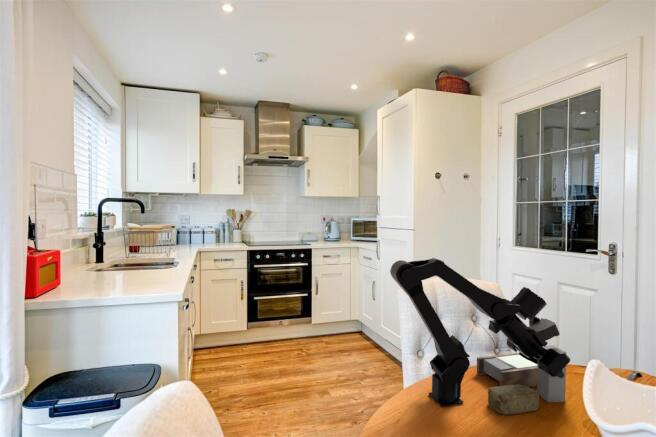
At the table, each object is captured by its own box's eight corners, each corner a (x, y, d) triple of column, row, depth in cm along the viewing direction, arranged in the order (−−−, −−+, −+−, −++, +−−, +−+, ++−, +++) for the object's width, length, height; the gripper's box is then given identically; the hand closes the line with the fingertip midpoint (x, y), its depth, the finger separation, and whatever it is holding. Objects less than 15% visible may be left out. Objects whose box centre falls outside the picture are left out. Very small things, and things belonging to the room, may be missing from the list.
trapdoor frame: (502, 390, 99) (502, 372, 99) (476, 373, 109) (476, 357, 109) (545, 384, 103) (546, 366, 103) (517, 368, 113) (517, 352, 113)
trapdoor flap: (501, 383, 101) (502, 369, 101) (482, 370, 108) (482, 358, 108) (542, 377, 104) (542, 364, 104) (520, 365, 112) (520, 354, 112)
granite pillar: (548, 402, 93) (549, 352, 93) (536, 393, 98) (537, 345, 98) (565, 401, 94) (566, 352, 93) (553, 392, 98) (554, 345, 98)
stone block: (540, 412, 89) (541, 392, 89) (500, 418, 86) (500, 397, 86) (522, 400, 95) (523, 381, 94) (484, 405, 92) (485, 386, 92)
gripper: (563, 320, 86) (606, 366, 87) (517, 301, 105) (553, 338, 105) (531, 354, 86) (574, 399, 86) (490, 328, 104) (526, 365, 105)
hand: (556, 372), depth 96 cm, fingers closed on granite pillar, 5 cm apart
